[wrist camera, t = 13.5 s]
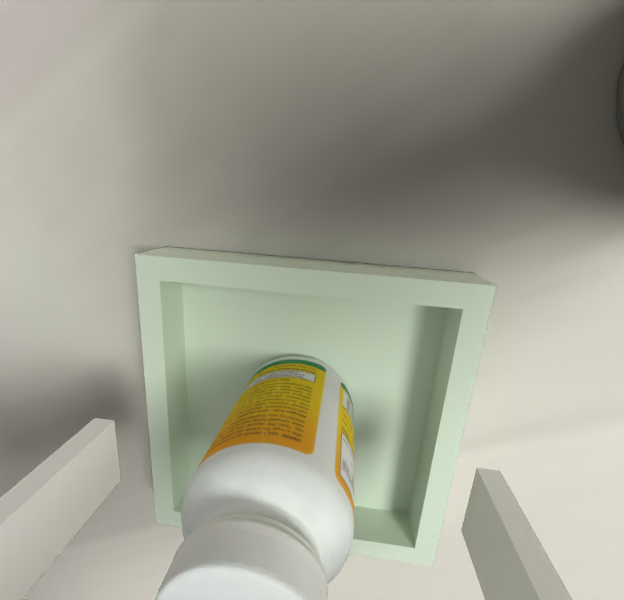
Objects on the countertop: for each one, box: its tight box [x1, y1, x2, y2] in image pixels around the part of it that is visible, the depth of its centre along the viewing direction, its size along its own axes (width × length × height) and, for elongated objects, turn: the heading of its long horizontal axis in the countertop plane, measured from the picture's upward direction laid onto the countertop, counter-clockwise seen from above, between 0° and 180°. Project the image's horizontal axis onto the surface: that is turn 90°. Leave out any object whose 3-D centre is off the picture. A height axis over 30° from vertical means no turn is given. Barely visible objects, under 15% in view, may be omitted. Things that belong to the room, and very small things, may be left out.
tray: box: [135, 247, 496, 567], centre depth 16 cm, size 14×14×2 cm
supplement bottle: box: [156, 356, 355, 600], centre depth 12 cm, size 5×5×10 cm
